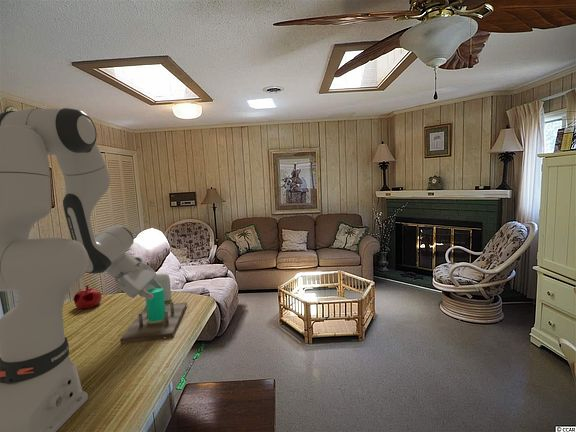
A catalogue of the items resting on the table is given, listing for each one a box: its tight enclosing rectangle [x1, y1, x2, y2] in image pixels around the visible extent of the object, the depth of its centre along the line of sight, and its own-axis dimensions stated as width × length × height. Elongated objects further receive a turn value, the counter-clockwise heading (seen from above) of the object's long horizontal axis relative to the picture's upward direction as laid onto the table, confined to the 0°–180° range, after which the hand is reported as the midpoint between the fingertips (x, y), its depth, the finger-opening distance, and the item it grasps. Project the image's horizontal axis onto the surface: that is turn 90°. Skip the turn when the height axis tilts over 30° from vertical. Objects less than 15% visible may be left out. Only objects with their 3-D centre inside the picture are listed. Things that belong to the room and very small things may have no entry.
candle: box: [145, 288, 166, 322], centre depth 108 cm, size 6×6×12 cm
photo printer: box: [144, 273, 172, 305], centre depth 128 cm, size 10×4×12 cm, turn 123°
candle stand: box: [119, 301, 188, 344], centre depth 109 cm, size 26×16×6 cm, turn 9°
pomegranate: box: [72, 284, 102, 310], centre depth 128 cm, size 10×10×9 cm
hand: (156, 293), depth 108 cm, fingers open, 8 cm apart
